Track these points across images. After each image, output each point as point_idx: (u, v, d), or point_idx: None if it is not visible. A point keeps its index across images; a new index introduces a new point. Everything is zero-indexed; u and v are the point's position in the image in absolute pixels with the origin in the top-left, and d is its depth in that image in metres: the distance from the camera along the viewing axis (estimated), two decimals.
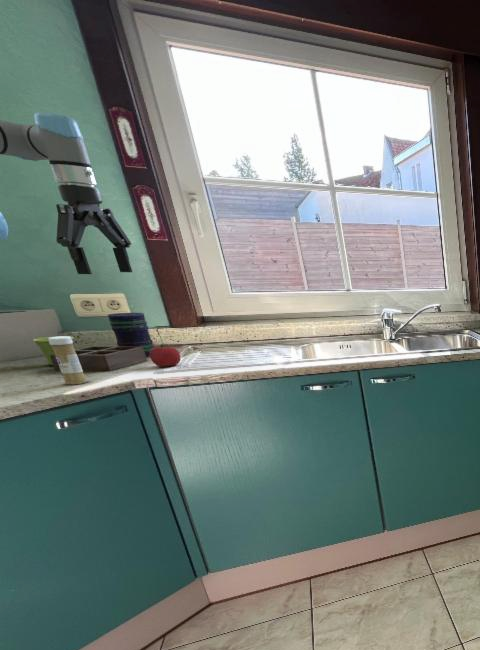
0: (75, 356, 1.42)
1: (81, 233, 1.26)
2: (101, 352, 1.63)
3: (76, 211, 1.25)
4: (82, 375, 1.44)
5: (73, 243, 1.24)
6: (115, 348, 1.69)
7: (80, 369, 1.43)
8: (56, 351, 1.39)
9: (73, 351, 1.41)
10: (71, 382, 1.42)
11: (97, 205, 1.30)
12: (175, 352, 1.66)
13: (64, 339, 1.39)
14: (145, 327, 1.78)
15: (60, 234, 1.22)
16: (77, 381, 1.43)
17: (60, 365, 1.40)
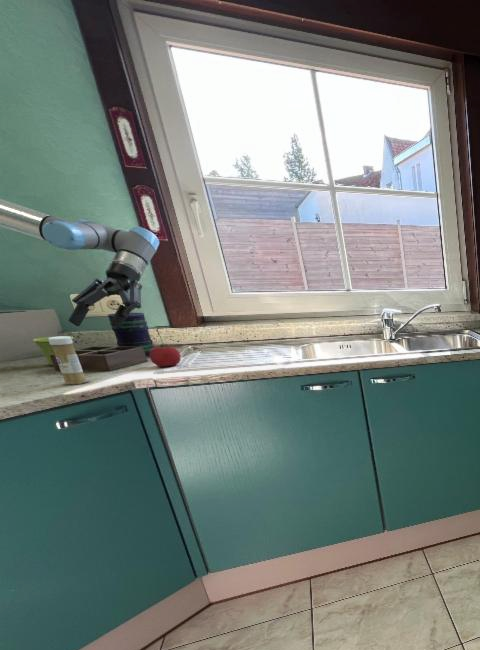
0: (75, 356, 1.42)
1: None
2: (101, 352, 1.63)
3: None
4: (82, 375, 1.44)
5: None
6: (115, 348, 1.69)
7: (80, 369, 1.43)
8: (56, 351, 1.39)
9: (73, 351, 1.41)
10: (71, 382, 1.42)
11: None
12: (175, 352, 1.66)
13: (64, 339, 1.39)
14: (145, 327, 1.78)
15: (136, 299, 1.51)
16: (77, 381, 1.43)
17: (60, 365, 1.40)
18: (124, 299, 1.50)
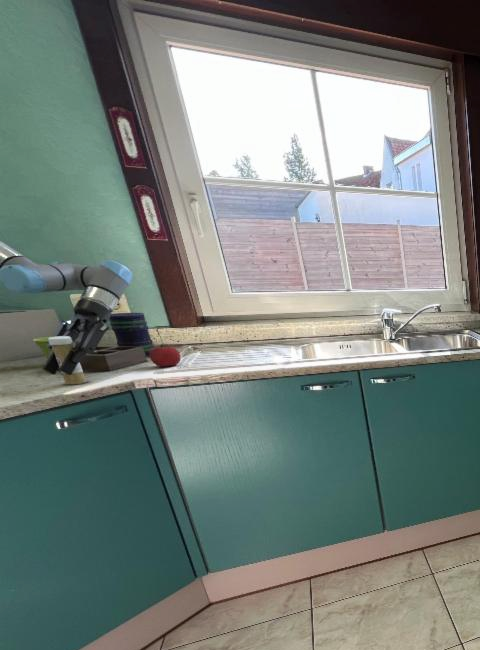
0: None
1: None
2: (101, 352, 1.63)
3: None
4: (82, 375, 1.44)
5: (85, 353, 1.43)
6: (115, 348, 1.69)
7: (80, 369, 1.43)
8: (56, 351, 1.39)
9: None
10: (71, 382, 1.42)
11: None
12: (175, 352, 1.66)
13: (64, 339, 1.39)
14: (145, 327, 1.78)
15: (90, 345, 1.42)
16: (77, 381, 1.43)
17: (60, 365, 1.40)
18: (78, 343, 1.41)
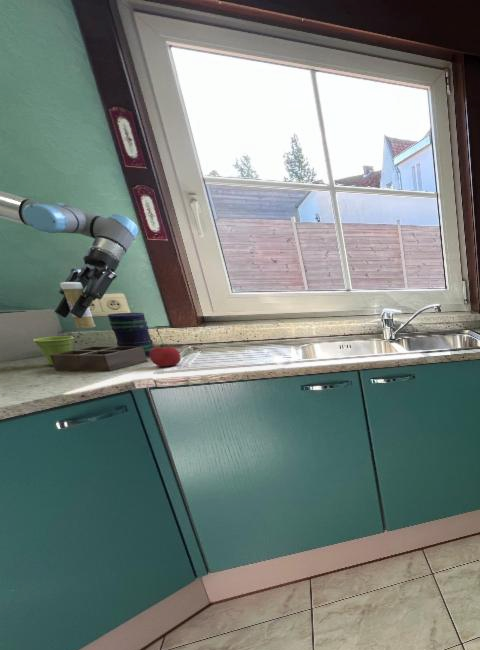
0: None
1: None
2: (101, 352, 1.63)
3: None
4: (91, 320, 1.54)
5: (94, 299, 1.52)
6: (115, 348, 1.69)
7: (89, 314, 1.53)
8: (67, 296, 1.48)
9: None
10: (81, 325, 1.52)
11: None
12: (175, 352, 1.66)
13: (75, 284, 1.48)
14: (145, 327, 1.78)
15: (99, 290, 1.52)
16: (87, 325, 1.52)
17: (71, 309, 1.50)
18: (88, 289, 1.51)
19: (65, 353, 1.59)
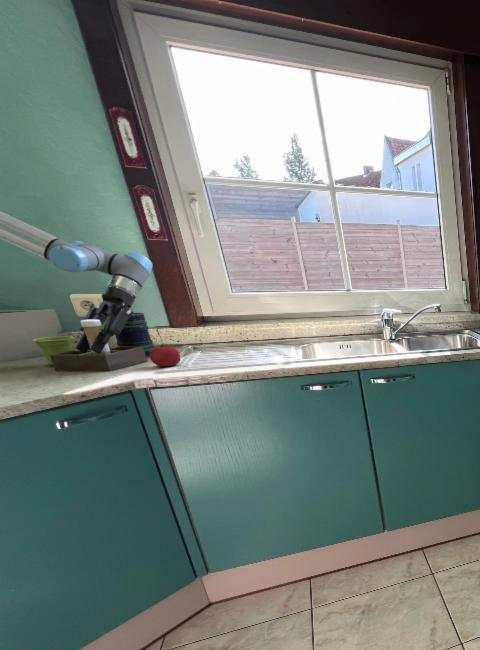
0: None
1: None
2: None
3: None
4: None
5: (112, 335, 1.60)
6: (115, 348, 1.69)
7: (108, 349, 1.60)
8: (87, 333, 1.56)
9: None
10: None
11: None
12: (175, 352, 1.66)
13: (94, 322, 1.56)
14: (145, 327, 1.78)
15: (117, 327, 1.59)
16: None
17: (91, 345, 1.57)
18: (106, 326, 1.58)
19: (65, 353, 1.59)
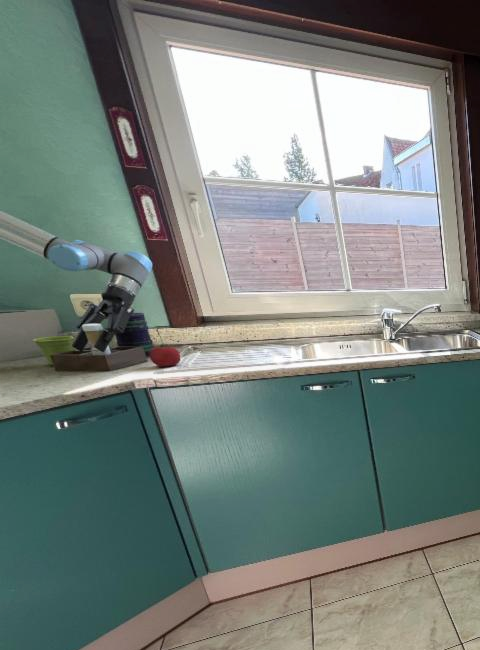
0: None
1: None
2: None
3: None
4: None
5: (116, 333, 1.60)
6: (115, 348, 1.69)
7: (109, 353, 1.61)
8: (88, 337, 1.56)
9: None
10: None
11: None
12: (175, 352, 1.66)
13: (96, 326, 1.56)
14: (145, 327, 1.78)
15: (120, 325, 1.59)
16: None
17: (92, 349, 1.58)
18: (109, 324, 1.58)
19: (65, 353, 1.59)
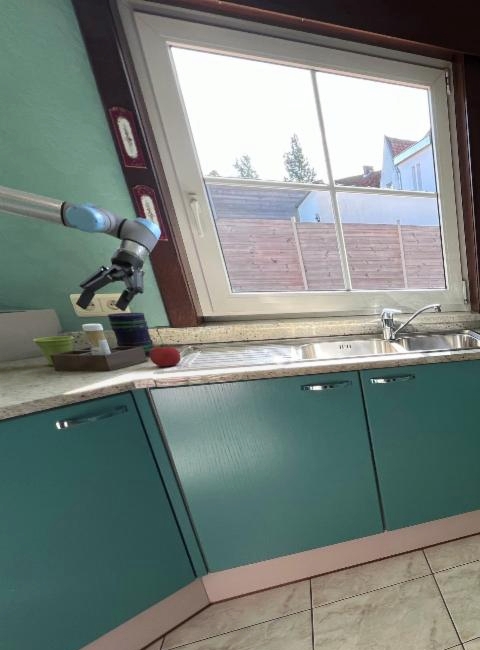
0: (105, 341, 1.59)
1: None
2: None
3: None
4: None
5: None
6: (115, 348, 1.69)
7: (109, 353, 1.61)
8: (89, 337, 1.56)
9: (103, 337, 1.59)
10: None
11: None
12: (175, 352, 1.66)
13: (96, 326, 1.56)
14: (145, 327, 1.78)
15: (139, 285, 1.62)
16: None
17: (92, 349, 1.58)
18: (128, 284, 1.61)
19: (65, 353, 1.59)
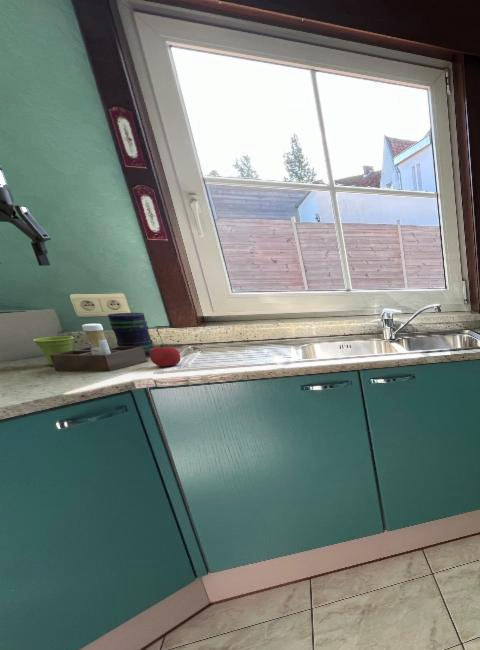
0: (105, 341, 1.59)
1: None
2: None
3: None
4: None
5: None
6: (115, 348, 1.69)
7: (109, 353, 1.61)
8: (89, 337, 1.56)
9: (103, 337, 1.59)
10: None
11: None
12: (175, 352, 1.66)
13: (96, 326, 1.56)
14: (145, 327, 1.78)
15: (41, 232, 1.46)
16: None
17: (92, 349, 1.58)
18: (29, 234, 1.45)
19: (65, 353, 1.59)
